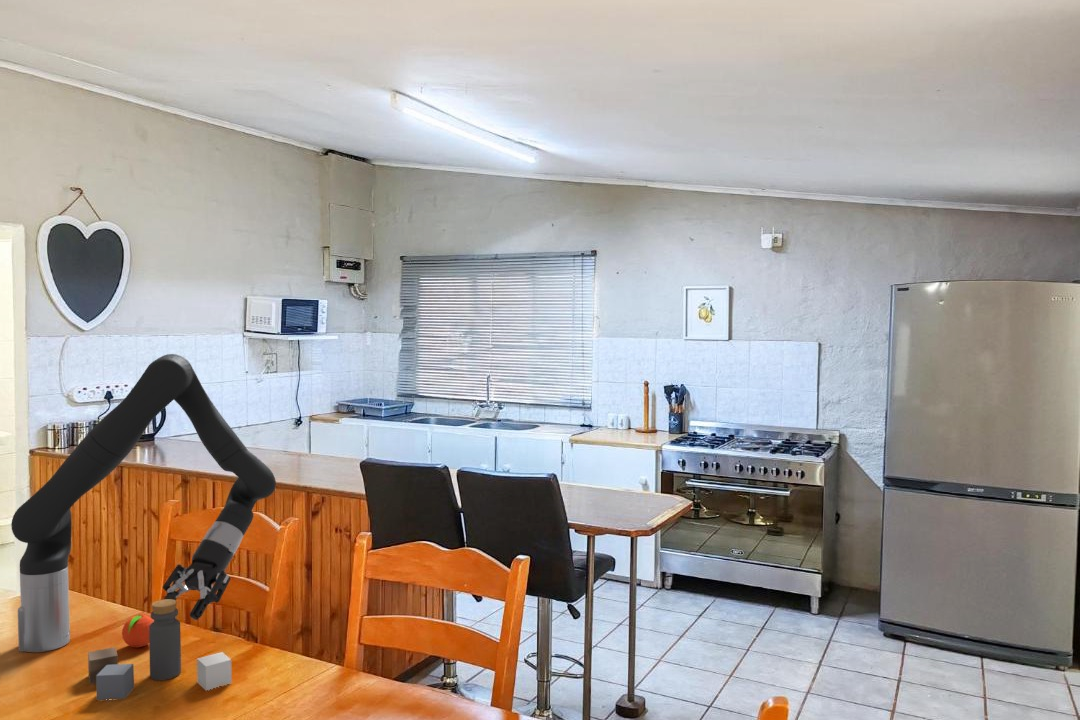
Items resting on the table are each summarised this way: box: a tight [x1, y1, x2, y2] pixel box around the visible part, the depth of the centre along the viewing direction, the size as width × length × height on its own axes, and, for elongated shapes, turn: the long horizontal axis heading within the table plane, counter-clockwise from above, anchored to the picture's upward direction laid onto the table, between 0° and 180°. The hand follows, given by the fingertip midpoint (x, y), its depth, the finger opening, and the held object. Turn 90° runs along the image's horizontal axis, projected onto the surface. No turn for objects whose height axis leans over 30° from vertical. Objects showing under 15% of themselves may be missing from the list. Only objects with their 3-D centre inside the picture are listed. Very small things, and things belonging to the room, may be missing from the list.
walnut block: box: [87, 646, 119, 686], centre depth 168 cm, size 5×5×5 cm
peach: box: [121, 614, 154, 648], centre depth 183 cm, size 8×7×7 cm
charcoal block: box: [95, 663, 135, 701], centre depth 160 cm, size 5×5×5 cm
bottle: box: [148, 598, 182, 681], centre depth 169 cm, size 6×6×15 cm
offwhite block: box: [196, 651, 232, 692], centre depth 165 cm, size 5×5×5 cm
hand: (177, 615), depth 172 cm, fingers open, 8 cm apart
